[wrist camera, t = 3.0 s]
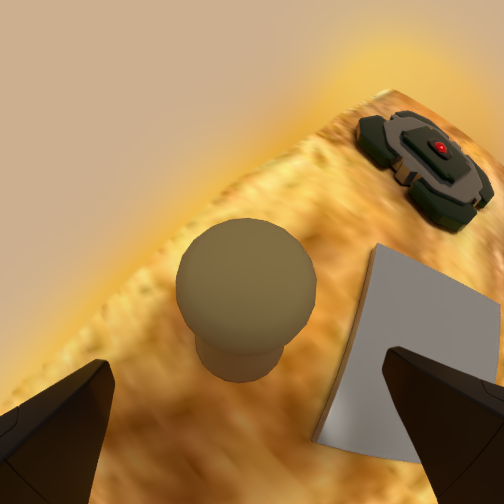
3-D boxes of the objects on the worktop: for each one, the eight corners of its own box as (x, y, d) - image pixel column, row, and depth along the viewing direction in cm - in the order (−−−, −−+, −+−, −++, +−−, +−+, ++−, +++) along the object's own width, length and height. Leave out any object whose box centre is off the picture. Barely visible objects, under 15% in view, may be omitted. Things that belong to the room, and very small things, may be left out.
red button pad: (490, 199, 30) (506, 180, 26) (444, 249, 24) (469, 224, 20) (411, 120, 37) (421, 99, 33) (338, 137, 31) (349, 107, 27)
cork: (231, 282, 21) (232, 170, 11) (300, 330, 19) (367, 250, 10) (177, 346, 18) (118, 278, 8) (249, 400, 16) (273, 402, 7)
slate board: (466, 465, 13) (475, 465, 12) (311, 440, 15) (316, 442, 14) (493, 308, 20) (500, 304, 19) (372, 250, 23) (377, 242, 22)
